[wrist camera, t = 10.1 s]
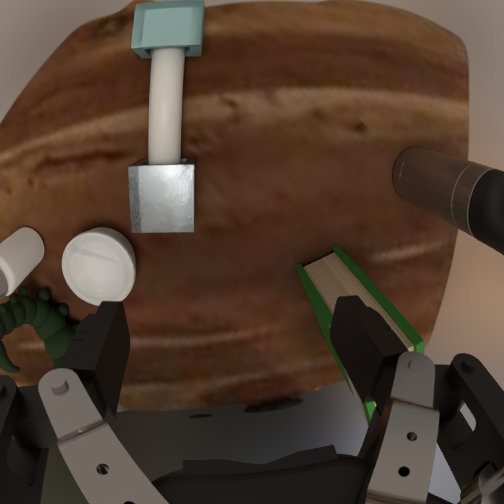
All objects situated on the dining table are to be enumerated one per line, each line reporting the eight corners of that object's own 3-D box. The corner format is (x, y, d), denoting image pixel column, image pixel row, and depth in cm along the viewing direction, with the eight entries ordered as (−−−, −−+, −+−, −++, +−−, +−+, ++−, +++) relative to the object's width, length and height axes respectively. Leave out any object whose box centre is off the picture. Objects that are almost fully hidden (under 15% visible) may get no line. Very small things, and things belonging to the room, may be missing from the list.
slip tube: (188, 35, 31) (186, 26, 27) (182, 197, 40) (179, 205, 36) (156, 36, 30) (151, 28, 27) (152, 197, 39) (146, 205, 36)
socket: (204, 17, 31) (204, 0, 25) (201, 56, 33) (200, 44, 27) (146, 19, 30) (136, 3, 24) (142, 58, 32) (130, 48, 26)
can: (9, 236, 38) (-31, 269, 27) (32, 219, 38) (-9, 250, 27) (28, 269, 41) (-6, 308, 30) (52, 253, 41) (17, 292, 30)
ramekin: (125, 210, 40) (115, 222, 36) (152, 277, 45) (147, 296, 40) (63, 233, 40) (48, 247, 35) (92, 294, 45) (82, 313, 40)
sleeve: (195, 158, 39) (194, 164, 33) (195, 215, 42) (194, 231, 36) (139, 159, 38) (128, 166, 32) (142, 216, 41) (132, 232, 35)
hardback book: (294, 264, 48) (358, 377, 26) (336, 244, 47) (423, 340, 26) (324, 339, 55) (376, 442, 33) (359, 321, 55) (422, 416, 33)
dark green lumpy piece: (21, 285, 44) (100, 384, 52) (-38, 341, 26) (74, 456, 34) (49, 262, 43) (133, 370, 51) (-14, 318, 25) (111, 450, 34)
